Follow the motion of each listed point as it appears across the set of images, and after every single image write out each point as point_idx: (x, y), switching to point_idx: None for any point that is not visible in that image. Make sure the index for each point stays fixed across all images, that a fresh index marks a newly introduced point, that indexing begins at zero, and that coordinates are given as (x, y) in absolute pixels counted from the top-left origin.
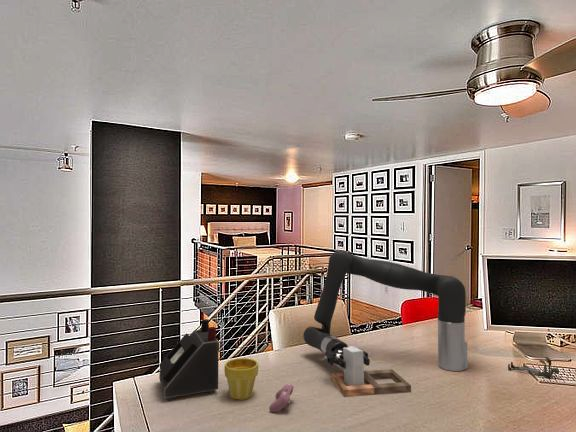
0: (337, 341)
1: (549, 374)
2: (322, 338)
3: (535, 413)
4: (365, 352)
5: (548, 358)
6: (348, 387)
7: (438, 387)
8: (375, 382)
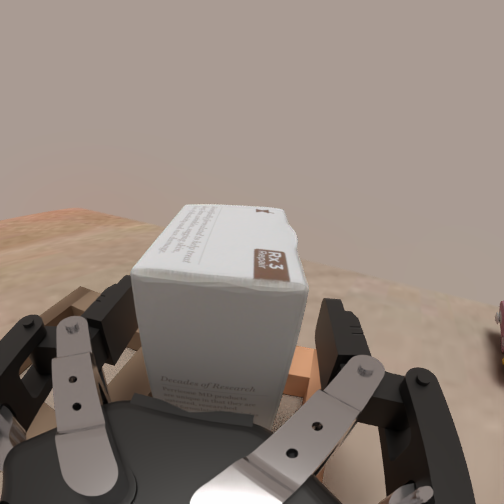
0: None
1: None
2: None
3: (58, 219)
4: (13, 336)
5: None
6: (304, 364)
7: (19, 287)
8: None
